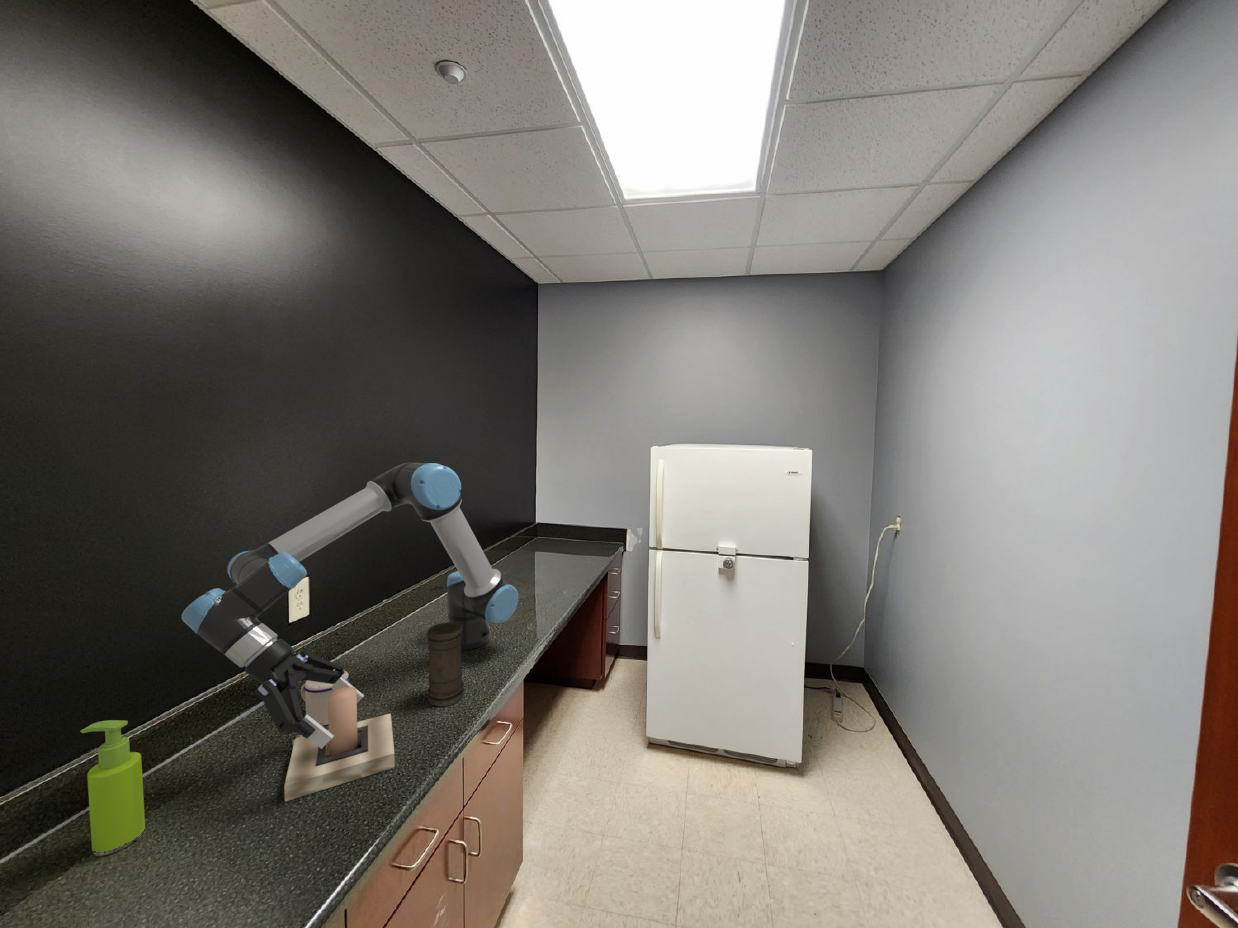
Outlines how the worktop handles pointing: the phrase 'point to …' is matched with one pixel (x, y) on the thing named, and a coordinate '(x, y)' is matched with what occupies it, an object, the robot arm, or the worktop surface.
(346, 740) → the peg
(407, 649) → the worktop surface
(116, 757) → the soap dispenser
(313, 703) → the teacup with lid
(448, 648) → the container
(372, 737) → the band board
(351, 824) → the worktop surface
